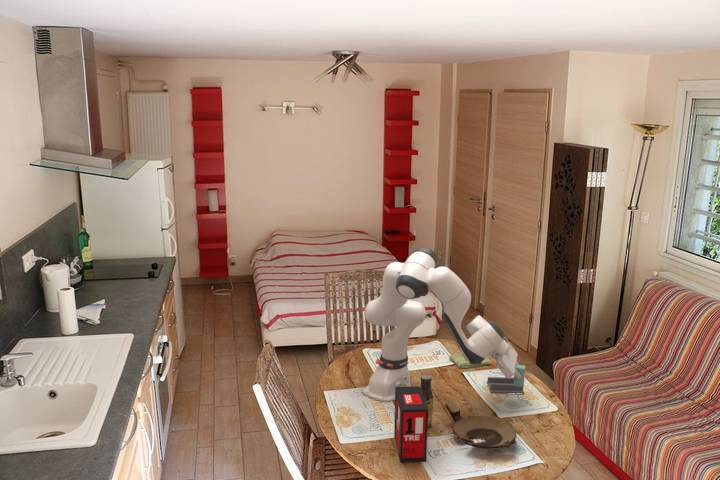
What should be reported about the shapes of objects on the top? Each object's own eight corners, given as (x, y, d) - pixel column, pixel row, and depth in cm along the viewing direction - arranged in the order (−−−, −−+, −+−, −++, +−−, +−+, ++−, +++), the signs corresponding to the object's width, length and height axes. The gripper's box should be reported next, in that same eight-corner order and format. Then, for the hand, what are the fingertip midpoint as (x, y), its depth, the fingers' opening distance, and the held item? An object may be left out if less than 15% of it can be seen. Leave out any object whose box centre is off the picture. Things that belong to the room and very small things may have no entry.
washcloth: (493, 366, 280) (493, 359, 280) (459, 370, 275) (460, 364, 274) (480, 355, 293) (480, 348, 292) (447, 359, 287) (447, 353, 287)
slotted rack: (490, 393, 253) (491, 385, 252) (486, 382, 263) (487, 375, 262) (523, 394, 253) (524, 386, 252) (518, 383, 262) (519, 376, 262)
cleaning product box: (394, 436, 220) (395, 386, 216) (417, 435, 221) (419, 386, 216) (400, 462, 204) (402, 410, 200) (426, 461, 205) (428, 409, 200)
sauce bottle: (427, 431, 224) (429, 382, 219) (412, 426, 227) (414, 378, 223) (435, 423, 229) (436, 375, 225) (420, 418, 233) (422, 371, 228)
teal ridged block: (513, 385, 241) (514, 367, 239) (513, 382, 244) (515, 364, 242) (523, 387, 240) (524, 369, 238) (523, 383, 243) (525, 365, 241)
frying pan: (474, 466, 203) (475, 446, 201) (434, 422, 230) (435, 404, 229) (529, 454, 210) (531, 434, 208) (484, 412, 238) (485, 395, 236)
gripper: (501, 355, 231) (525, 382, 230) (506, 335, 249) (528, 360, 249) (489, 364, 233) (512, 391, 232) (494, 343, 252) (516, 368, 251)
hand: (520, 375), depth 241 cm, fingers closed on teal ridged block, 3 cm apart
